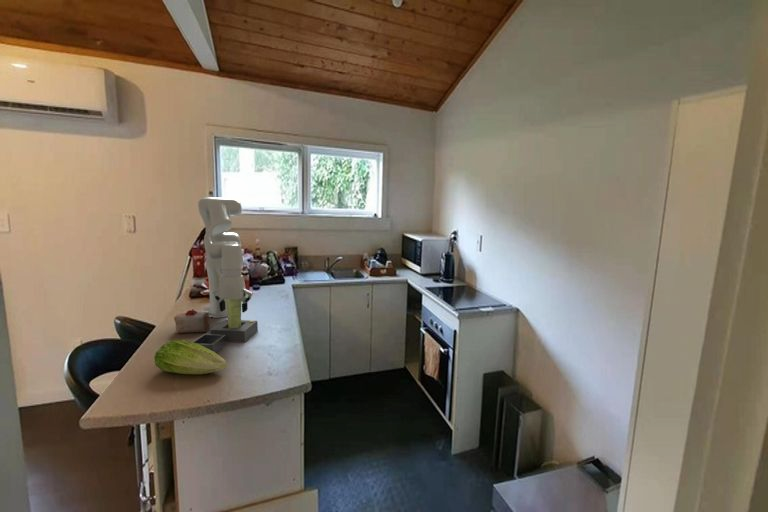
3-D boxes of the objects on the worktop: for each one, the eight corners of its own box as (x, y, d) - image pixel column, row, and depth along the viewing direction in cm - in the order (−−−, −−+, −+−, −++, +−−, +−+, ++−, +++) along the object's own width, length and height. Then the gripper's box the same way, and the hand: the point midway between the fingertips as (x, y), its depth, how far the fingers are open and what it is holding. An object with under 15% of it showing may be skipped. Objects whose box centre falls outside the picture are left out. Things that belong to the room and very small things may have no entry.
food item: (172, 335, 156) (171, 313, 154) (179, 328, 164) (178, 308, 162) (206, 333, 158) (204, 312, 157) (211, 327, 166) (210, 307, 165)
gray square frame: (189, 353, 138) (188, 344, 137) (204, 342, 148) (203, 333, 147) (213, 354, 137) (212, 345, 136) (226, 344, 147) (226, 334, 147)
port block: (210, 341, 150) (209, 328, 149) (225, 329, 163) (225, 318, 162) (244, 342, 149) (244, 330, 148) (257, 331, 162) (257, 320, 161)
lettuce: (208, 372, 113) (227, 338, 122) (141, 361, 117) (164, 328, 125) (222, 389, 121) (239, 356, 130) (158, 378, 125) (179, 346, 134)
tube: (232, 333, 159) (230, 290, 156) (243, 333, 159) (242, 291, 156) (226, 338, 154) (225, 294, 151) (238, 338, 154) (237, 294, 151)
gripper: (207, 273, 148) (209, 313, 151) (247, 275, 147) (249, 314, 150) (217, 270, 156) (219, 307, 159) (255, 271, 155) (256, 309, 158)
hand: (233, 311), depth 154 cm, fingers open, 9 cm apart
